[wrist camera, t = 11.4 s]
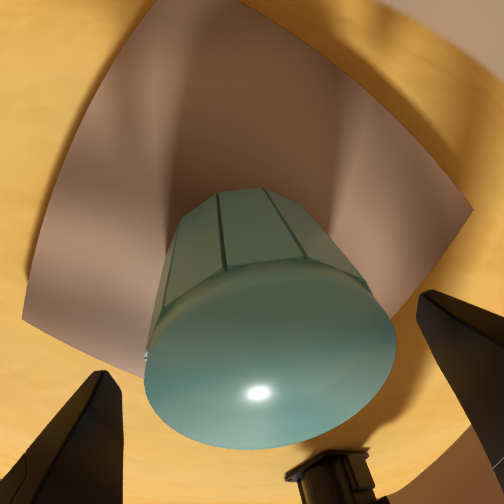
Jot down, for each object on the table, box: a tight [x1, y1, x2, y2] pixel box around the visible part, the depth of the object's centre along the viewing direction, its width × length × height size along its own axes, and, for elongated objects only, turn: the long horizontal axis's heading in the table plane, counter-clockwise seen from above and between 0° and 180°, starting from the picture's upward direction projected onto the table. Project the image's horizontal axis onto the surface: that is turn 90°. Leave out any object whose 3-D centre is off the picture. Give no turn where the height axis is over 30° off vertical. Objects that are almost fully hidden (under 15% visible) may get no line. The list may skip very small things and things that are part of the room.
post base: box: [22, 0, 474, 378], centre depth 11 cm, size 16×16×6 cm
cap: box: [144, 188, 397, 450], centre depth 9 cm, size 6×6×6 cm
